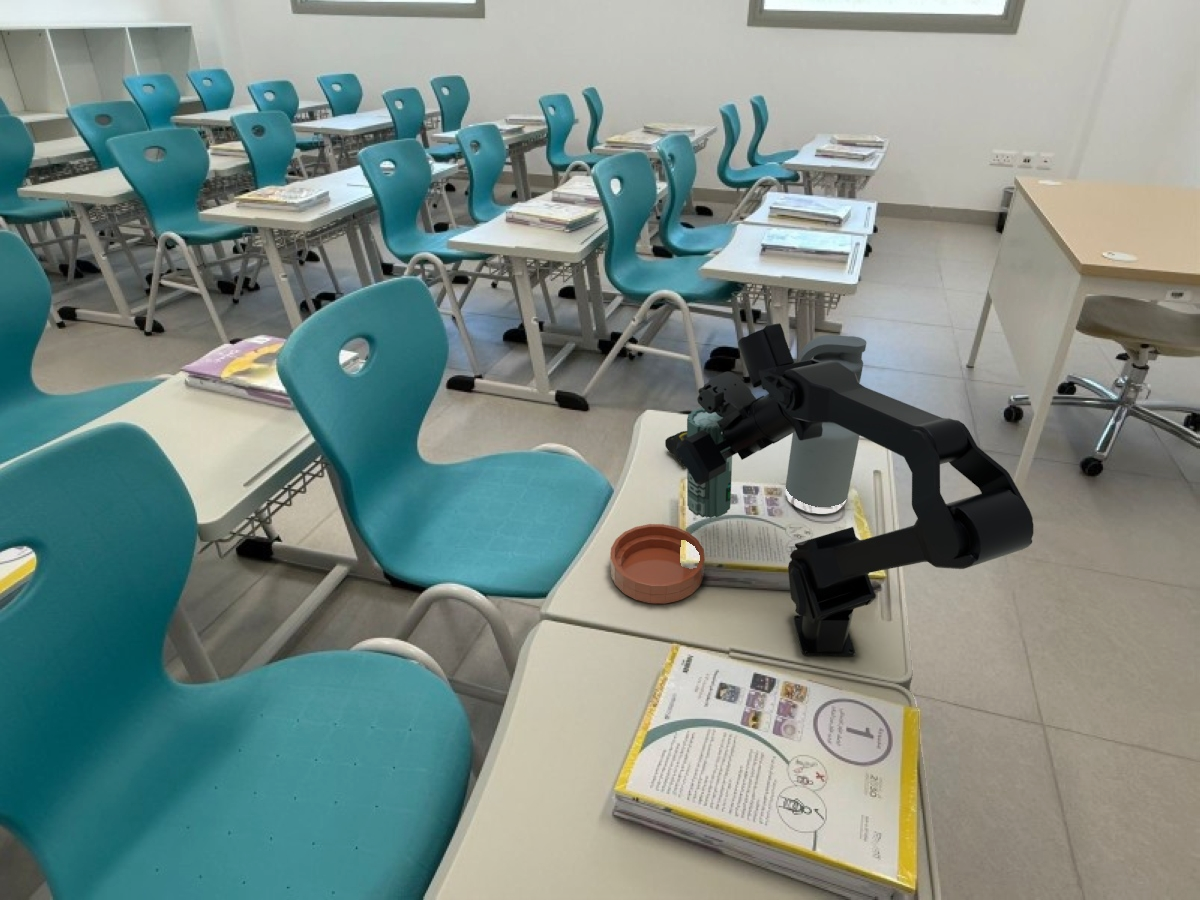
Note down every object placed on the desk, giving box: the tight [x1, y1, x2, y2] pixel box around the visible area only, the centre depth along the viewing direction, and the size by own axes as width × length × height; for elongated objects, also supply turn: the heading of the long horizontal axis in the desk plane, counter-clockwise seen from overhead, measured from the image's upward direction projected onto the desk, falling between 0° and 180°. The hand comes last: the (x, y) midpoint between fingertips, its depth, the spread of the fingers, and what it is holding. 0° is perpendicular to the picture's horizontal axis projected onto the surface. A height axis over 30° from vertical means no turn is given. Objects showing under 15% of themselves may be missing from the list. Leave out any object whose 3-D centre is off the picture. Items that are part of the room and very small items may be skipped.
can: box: [686, 407, 733, 519], centre depth 104 cm, size 6×6×15 cm
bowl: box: [610, 523, 706, 604], centre depth 103 cm, size 13×13×4 cm
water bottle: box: [785, 334, 868, 507], centre depth 110 cm, size 10×10×28 cm
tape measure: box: [664, 430, 687, 467], centre depth 128 cm, size 7×7×4 cm
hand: (703, 457), depth 105 cm, fingers closed on can, 6 cm apart
